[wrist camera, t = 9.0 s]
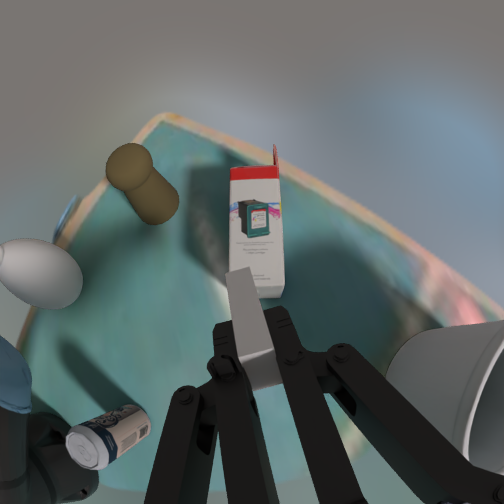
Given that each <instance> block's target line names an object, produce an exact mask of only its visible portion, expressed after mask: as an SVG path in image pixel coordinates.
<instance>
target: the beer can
mask: <svg viewBox="0 0 504 504" xmlns="http://www.w3.org/2000/svg"><path fill="white" fill-rule="evenodd" d="M150 431H151V422H150V419H149V417H148V416H147V414H146V413H145V412H144V411H143V410H142V409H141V408H139V407H138V406H135V405H130V404H128V405H124V406H122V407H119V408H117V409H115V410H113V411H110V412H108V413H106V414H103V415H101V416H98V417H96V418H94V419H91V420H89V421H86V422H84V423H81V424H79V425H76V426H74V427H72V428H71V429H70V430H69V432H68V435H67V436H66V447H67V450H68V452H69V454H70V456H71V458H72V459H74V460H75V461H76V462H77V463H78V464H79V465H80V466H81V467H84V468H87V469H90V470H92V469H93V470H101V469H104V468H105V467H106V466H107V465H108V464H110V463H111V462H113V461H114V460H115V459H117V458H118V457H119V456H121V455H122V454H124V453H125V452H126V451H128V450H129V449H130V448H132V447H133V446H134V445H136V444H137V443H138V442H139V441H141V440H142V439H143V438H145V437H146V436H148V435H149V433H150Z"/></svg>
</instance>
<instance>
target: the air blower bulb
mask: <svg viewBox="0 0 504 504" xmlns="http://www.w3.org/2000/svg"><path fill="white" fill-rule="evenodd" d="M0 281H1V282H2V283H3V284H4V286H5V287H6V288H7V289H8V290H9V291H10V292H12V293H13V294H14V295H15V296H17V297H18V298H20V299H21V300H23V301H24V302H26V303H28V304H30V305H33V306H35V307H39V308H43V309H61V308H64V307H67V306H69V305H70V304H72V303H73V302H74V301H75V300H76V299H77V298H78V296H79V295H80V293H81V290H82V286H83V275H82V272H81V270H80V267H79V266H78V264H77V262H76V261H75V260H74V259H73V258H72V257H71V255H69V254H68V253H67V252H66V251H64V250H63V249H61V248H60V247H58V246H56V245H54V244H51V243H49V242H46V241H42V240H37V239H16V240H11V241H8V242H5V243H3V244H2V245H0Z"/></svg>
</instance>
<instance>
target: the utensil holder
mask: <svg viewBox="0 0 504 504" xmlns="http://www.w3.org/2000/svg"><path fill="white" fill-rule="evenodd" d="M385 379H386V380H387V381H388V382H389V383H390V384H391V385H392V386H393V387H394V388H396V389H397V390H398V391H399V392H400V393H401V394H402V395H403V396H404V397H405V398H406V399H407V400H408V401H409V402H410V403H411V404H412V405H413V406H414V407H415V408H416V409H417V410H418V411H419V412H420V413H421V414H422V415H423V416H424V417H425V418H426V419H427V420H428V421H429V422H430V423H431V424H432V425H433V426H434V427H435V428H436V429H437V430H438V431H439V432H440V433H441V434H442V435H443V436H444V437H445V438H446V439H447V440H448V441H449V442H450V443H451V444H452V445H453V446H454V447H455V448H456V449H457V450H458V451H459V452H460V453H461V454H462V455H463V456H464V457H465V458H466V459H467V460H468V461H469V462H470V463H471V464H472V465H473V466H476V467H479V468H482V469H485V470H488V471H491V472H494V473H497V474H501V475H504V320H501V321H494V322H487V323H480V324H471V325H461V326H451V327H445V328H438V329H431V330H427V331H423V332H421V333H419V334H417V335H415V336H414V337H412V338H411V339H409V340H408V341H407V342H406V343H405V344H404V345H403V346H402V347H401V348H400V349H399V351H398V352H397V353H396V355H395V356H394V358H393V360H392V362H391V364H390V366H389V368H388V370H387V374H386V377H385Z"/></svg>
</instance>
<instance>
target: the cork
mask: <svg viewBox="0 0 504 504" xmlns="http://www.w3.org/2000/svg"><path fill="white" fill-rule="evenodd" d="M106 176H107V179H108V181H109V182H110V183H111V184H112V185H113V186H114V187H115V188H117V189H119V190H121V191H124V193H125V195H126V196H127V198H128V199H129V201H130V203H131V204H132V206H133V208H134V209H135V211H136V212H137V214H138V216H139V217H140V218H141V219H142V221H143V222H145V223H147V224H150V225H158V224H162V223H164V222H166V221H168V220H169V219H170V218H171V217H172V216H173V215H174V214H175V212H176V211H177V209H178V205H179V195H178V193H177V190H176V189H175V188H174V187H173V186H172V185H171V184H170V183H169V182H168V181H167V180H166V179H165V178H164V177H163V176H162V175H161V174H160V173H159V172H158V171H157V170H156V169H155V168H154V167H153V161H152V157H151V155H150V153H149V151H148V150H147V149H146V148H145V147H143V146H142V145H139V144H136V143H128V144H125V145H122V146H121V147H119V148H117V149H116V150H115V151H114V152H113V153H112V154H111V156H110V157H109V158H108V161H107V163H106Z"/></svg>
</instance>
